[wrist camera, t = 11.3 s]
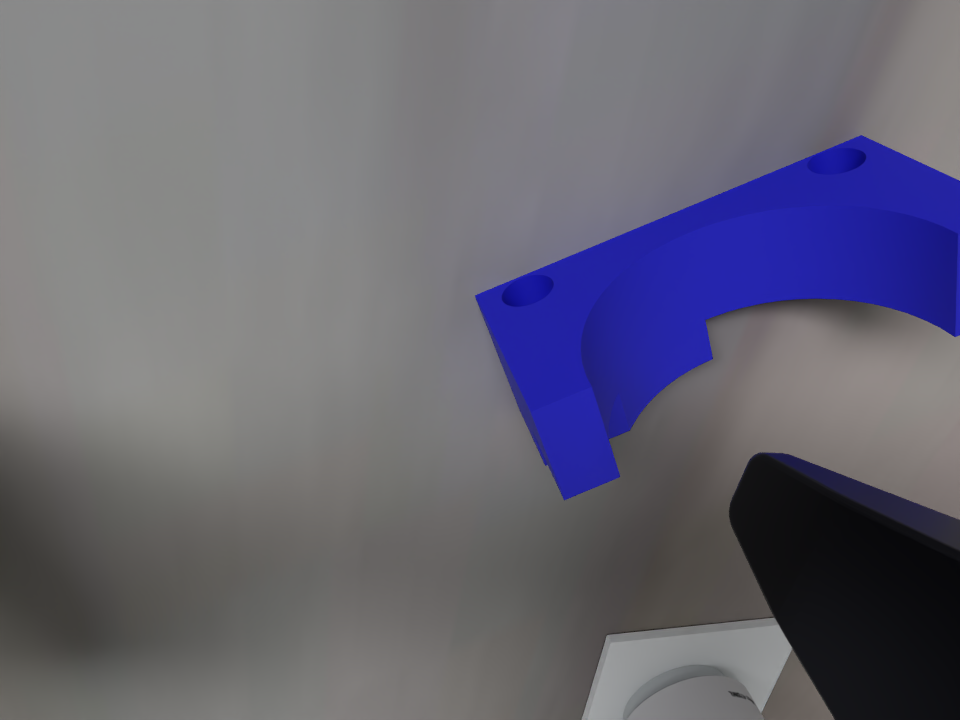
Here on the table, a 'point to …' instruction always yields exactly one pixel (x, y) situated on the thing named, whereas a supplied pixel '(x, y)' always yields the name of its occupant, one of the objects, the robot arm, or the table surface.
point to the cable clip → (716, 289)
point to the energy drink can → (692, 697)
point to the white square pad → (687, 660)
